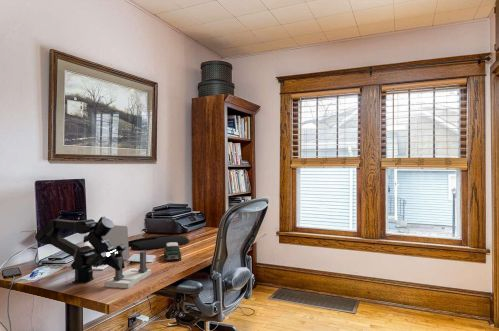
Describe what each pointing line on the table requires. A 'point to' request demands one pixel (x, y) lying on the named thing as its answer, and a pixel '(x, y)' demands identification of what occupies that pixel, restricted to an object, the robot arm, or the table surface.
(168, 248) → the miniature car
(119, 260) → the lever
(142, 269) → the on breaker
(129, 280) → the breaker panel
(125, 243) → the electrical switch box
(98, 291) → the table surface
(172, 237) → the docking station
